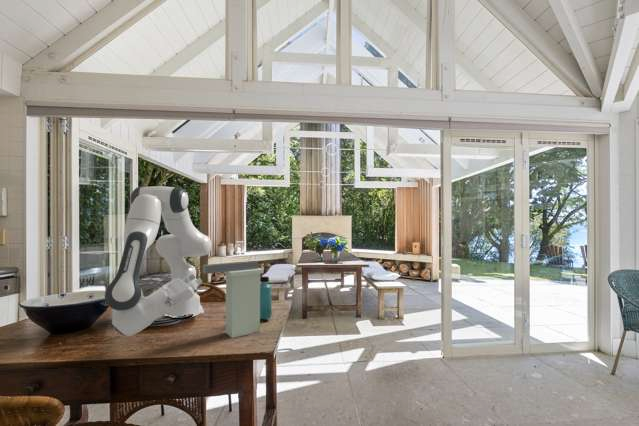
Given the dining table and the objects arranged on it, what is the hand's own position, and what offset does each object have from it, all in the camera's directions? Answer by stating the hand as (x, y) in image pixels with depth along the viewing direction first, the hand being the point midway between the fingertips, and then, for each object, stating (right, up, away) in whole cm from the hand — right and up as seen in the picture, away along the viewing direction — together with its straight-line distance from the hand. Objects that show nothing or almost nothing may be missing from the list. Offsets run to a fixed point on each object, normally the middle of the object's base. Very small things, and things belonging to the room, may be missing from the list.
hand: (197, 277), depth 124 cm
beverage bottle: (+21, -25, +26) cm, 42 cm away
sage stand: (+15, -25, +10) cm, 31 cm away
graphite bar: (+11, +1, +8) cm, 13 cm away
